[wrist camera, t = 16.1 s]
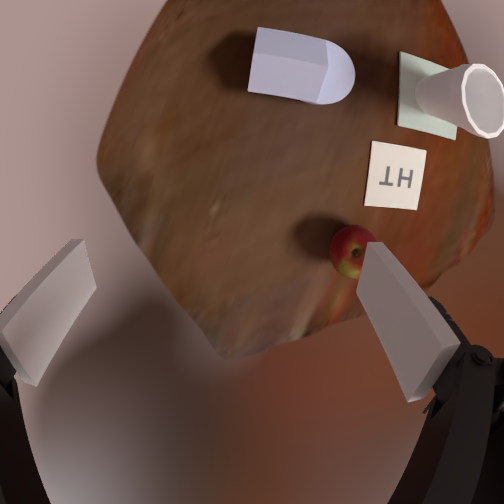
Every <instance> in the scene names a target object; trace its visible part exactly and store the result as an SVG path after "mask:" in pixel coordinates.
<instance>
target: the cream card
mask: <svg viewBox="0 0 504 504" xmlns="http://www.w3.org/2000/svg"><path fill="white" fill-rule="evenodd" d="M425 158H426V151H425V150H421V149H416V148H411V147H406V146H401V145H395V144H389V143H383V142H377V141H372V145H371V155H370V164H369V172H368V180H367V187H366V194H365V201H364V206H378V207H391V208H403V209H414V210H417V205H418V200H419V195H420V190H421V184H422V178H423V172H424V165H425Z"/></svg>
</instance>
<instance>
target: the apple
mask: <svg viewBox="0 0 504 504" xmlns="http://www.w3.org/2000/svg"><path fill="white" fill-rule="evenodd" d="M368 242H377V240H376V238H375V237H374V235H373V234H372V233H371V232H370V231H368V230H367V229H365V228H363V227H361V226H359V225H350V226H346V227H344V228H342V229H340V230H339V231H338V232H337V233H336V234H335V235H334V236H333V238H332V240H331V242H330V258H331V262H332V264H333V266H334V268H335V269H336V270H337V271H338V272H339V273H340V274H342V275H344V276H346V277H349V278H356V279H358V278H360V275H361V270H362V266H363V262H364V257H365V252H366V248H367V243H368Z"/></svg>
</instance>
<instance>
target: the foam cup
mask: <svg viewBox="0 0 504 504" xmlns="http://www.w3.org/2000/svg"><path fill="white" fill-rule="evenodd" d="M415 97H416V101H417V103H418V105H419V107H420V108H421V109H422V110H423V111H424V113H426V114H428V115H431V116H433V117H436V118H439V119H441V120H444V121H447V122H449V123H452V124H454V125H457V126H459V127H461V128H464V129H465V130H466V131H468V132H470V133H472V134H474V135H476V136H480V137H484V138H487V139H488V138H493V137H497V136H498V135H499V134H500V133H501V131H502V130H503V129H504V88H503V85H502V83H501V82H500V80H499V78H498V77H497V75H496V74H495V72H494V71H493V70H491V69H489V68H488V67H487V66H485V65H484V64H462V65H460V66H459V67H457V68H453V69H450V70H446V71H443V72H440V73H437V74H433V75H430V76H427V77H424V78H422V79H421V80H420V81H419V82H417V85H416V88H415Z"/></svg>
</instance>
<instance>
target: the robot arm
mask: <svg viewBox="0 0 504 504" xmlns="http://www.w3.org/2000/svg"><path fill="white" fill-rule="evenodd" d="M95 289H96V284H95V281H94V278H93V274H92V270H91V266H90V263H89V259H88V255H87V251H86V247H85V243H84V239H78V240H75V239H74V240H71V241H70V242H69V243H67V244H66V245H65V246H64V247H63V248H62V249H61V250H60V251H59V252H58V253H57V254H56V255H55V256H54V257H53V258H52V259H51V260H50V261H49V262H48V263H47V264H46V265H45V266H44V267H43V268H42V269H41V270H40V271H39V272H38V273H37V274H36V275H35V276H34V277H33V278H32V279H31V280H30V281H29V282H28V283H27V284H26V285H25V286H24V288H23V289H22V290H21V291H20V292H19V293H18V294H17V295H16V296H15V297H14V298H13V299H12V300H11V301H10V302H9V303H8V305H7V306H6V307H5V308H4V309H3V311H2V312H1V313H0V504H51V503H50V501H49V498H48V496H47V494H46V491H45V489H44V486H43V483H42V481H41V478H40V475H39V473H38V470H37V467H36V464H35V460H34V457H33V454H32V451H31V448H30V444H29V440H28V436H27V432H26V428H25V424H24V419H23V414H22V409H21V404H20V398H19V393H18V386H17V382H16V380H15V379H14V377H13V376H14V375H15V373H16V372H17V373H18V374H19V376H20V377H21V379H22V380H23V382H26V383H28V384H31V385H34V386H37V385H38V383H39V381H40V379H41V377H42V376H43V374H44V372H45V370H46V368H47V366H48V365H49V362H50V361H51V359H52V357H53V356H54V354H55V352H56V350H57V349H58V347H59V345H60V344H61V342H62V340H63V339H64V337H65V336H66V334H67V332H68V330H69V329H70V327H71V326H72V324H73V323H74V321H75V320H76V318H77V316H78V315H79V313H80V312H81V310H82V309H83V307H84V306H85V304H86V303H87V301H88V300H89V298H90V297H91V295H92V293H93V292H94V291H95ZM356 293H357V295H358V297H359V299H360V301H361V303H362V305H363V307H364V309H365V311H366V313H367V315H368V317H369V319H370V321H371V323H372V325H373V327H374V329H375V331H376V333H377V335H378V337H379V339H380V341H381V343H382V346H383V348H384V350H385V352H386V354H387V356H388V359H389V361H390V363H391V365H392V367H393V370H394V372H395V374H396V377H397V379H398V381H399V383H400V386H401V388H402V390H403V393H404V395H405V398H406V400H407V402H412V401H415V400H419V399H423V398H425V397H426V396H427V394H428V393H429V392H430V390H431V389H432V388H433V389H434V392H435V394H436V395H435V396H434V398H433V399H432V400H431V402H430V403H429V404H428V405H427V407H426V408H425V410H424V411H423V413H424V414H425V413H426V412H427V410H428V409H429V411H428V414H427V417H426V420H425V423H424V425H423V428H422V431H421V433H420V436H419V439H418V441H417V444H416V446H415V448H414V451H413V453H412V455H411V458H410V460H409V462H408V464H407V467H406V469H405V471H404V473H403V475H402V477H401V479H400V481H399V483H398V485H397V487H396V489H395V491H394V493H393V495H392V496H391V498H390V500H389V502H388V503H387V504H504V358H494V357H493V355H492V354H491V353H490V352H489V351H488V350H487V349H486V348H484V347H482V346H479V345H471V344H470V343H469V341H468V340H467V338H466V337H465V336H464V335H463V333H462V331H461V330H460V329H459V327H458V326H457V324H456V323H455V322H454V321H453V319H452V318H451V317H450V315H449V314H447V311H446V310H445V309H444V307H443V306H442V305H441V304H440V303H439V302H438V301H436V300H435V299H434V298H432V297H427V296H426V294H425V293H424V292H423V290H422V289H421V288H420V287H419V285H418V284H417V283H416V282H415V280H414V279H413V278H412V277H411V275H410V274H409V273H408V272H407V271H406V269H405V268H404V267H403V266H402V265H401V263H400V262H399V261H398V260H397V259H396V257H395V256H394V255H393V254H392V253H391V252H390V250H389V249H388V248H387V247H386V246H385V245H384V244H383V243H382V242H368V243H367V248H366V252H365V257H364V262H363V266H362V270H361V275H360V279H359V283H358V287H357V291H356Z"/></svg>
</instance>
